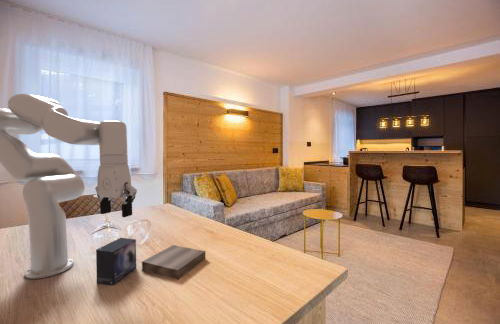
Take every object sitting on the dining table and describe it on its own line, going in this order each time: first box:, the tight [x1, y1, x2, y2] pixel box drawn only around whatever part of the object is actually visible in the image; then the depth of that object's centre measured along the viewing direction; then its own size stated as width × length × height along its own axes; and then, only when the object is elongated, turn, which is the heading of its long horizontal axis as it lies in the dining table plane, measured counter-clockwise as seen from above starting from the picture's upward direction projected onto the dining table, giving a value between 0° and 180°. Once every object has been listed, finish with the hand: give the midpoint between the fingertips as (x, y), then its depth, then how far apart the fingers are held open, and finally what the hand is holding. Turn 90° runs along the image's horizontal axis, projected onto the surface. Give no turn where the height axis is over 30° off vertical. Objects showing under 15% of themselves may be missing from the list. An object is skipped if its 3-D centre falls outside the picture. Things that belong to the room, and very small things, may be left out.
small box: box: [95, 237, 137, 286], centre depth 76 cm, size 11×6×10 cm, turn 168°
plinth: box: [141, 244, 206, 280], centre depth 83 cm, size 15×15×3 cm
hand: (116, 214), depth 75 cm, fingers open, 9 cm apart
